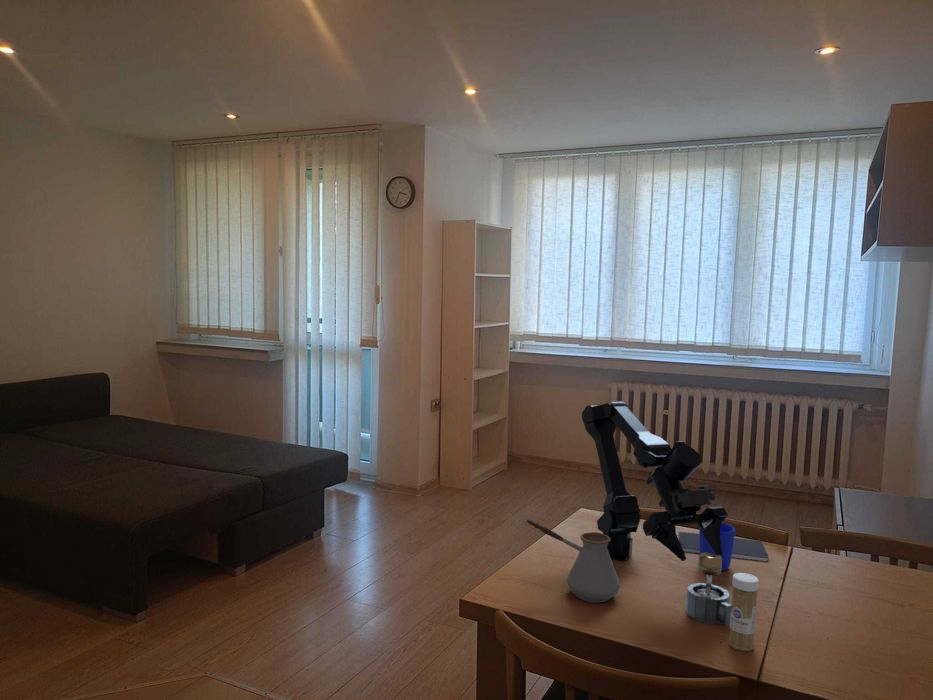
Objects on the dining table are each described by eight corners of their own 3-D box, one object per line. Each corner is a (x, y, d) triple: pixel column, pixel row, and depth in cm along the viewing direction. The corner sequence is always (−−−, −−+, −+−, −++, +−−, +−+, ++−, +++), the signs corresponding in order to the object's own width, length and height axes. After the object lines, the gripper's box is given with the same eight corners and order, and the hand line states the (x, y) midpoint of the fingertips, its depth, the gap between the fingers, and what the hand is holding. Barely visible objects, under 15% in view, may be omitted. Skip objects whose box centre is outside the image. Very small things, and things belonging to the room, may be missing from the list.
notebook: (761, 546, 186) (678, 536, 191) (761, 540, 186) (678, 531, 191) (768, 563, 173) (680, 553, 179) (769, 557, 173) (680, 547, 179)
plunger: (692, 592, 144) (694, 553, 143) (709, 590, 145) (711, 551, 145) (706, 601, 140) (709, 561, 139) (724, 599, 141) (726, 559, 141)
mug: (723, 555, 176) (725, 517, 176) (736, 574, 165) (739, 533, 164) (690, 553, 177) (692, 515, 176) (701, 572, 165) (703, 531, 164)
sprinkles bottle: (724, 646, 130) (729, 576, 129) (733, 637, 133) (737, 569, 132) (749, 655, 127) (754, 583, 126) (757, 646, 131) (762, 576, 129)
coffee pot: (621, 588, 155) (624, 522, 154) (618, 610, 144) (621, 539, 142) (526, 575, 160) (529, 511, 159) (517, 595, 149) (519, 527, 148)
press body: (678, 608, 145) (679, 585, 145) (709, 603, 148) (710, 581, 148) (711, 631, 136) (713, 606, 135) (743, 625, 139) (745, 601, 138)
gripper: (653, 475, 145) (684, 544, 135) (724, 469, 151) (759, 535, 142) (629, 501, 152) (658, 569, 143) (698, 495, 159) (730, 559, 150)
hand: (702, 557), depth 144 cm, fingers open, 9 cm apart
